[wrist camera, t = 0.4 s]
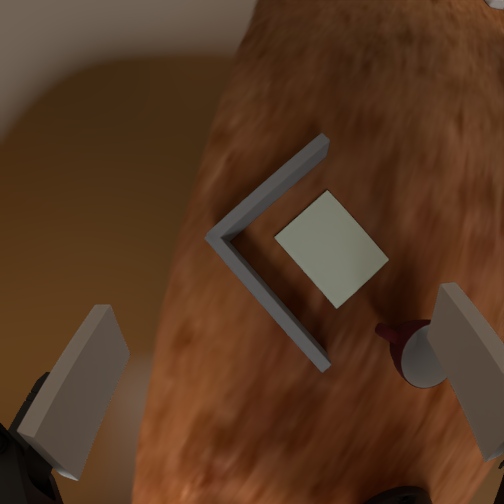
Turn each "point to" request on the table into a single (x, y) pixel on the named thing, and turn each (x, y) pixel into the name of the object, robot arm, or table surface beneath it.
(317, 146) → the corner arena
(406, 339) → the mug
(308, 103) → the table surface
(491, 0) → the power adapter
